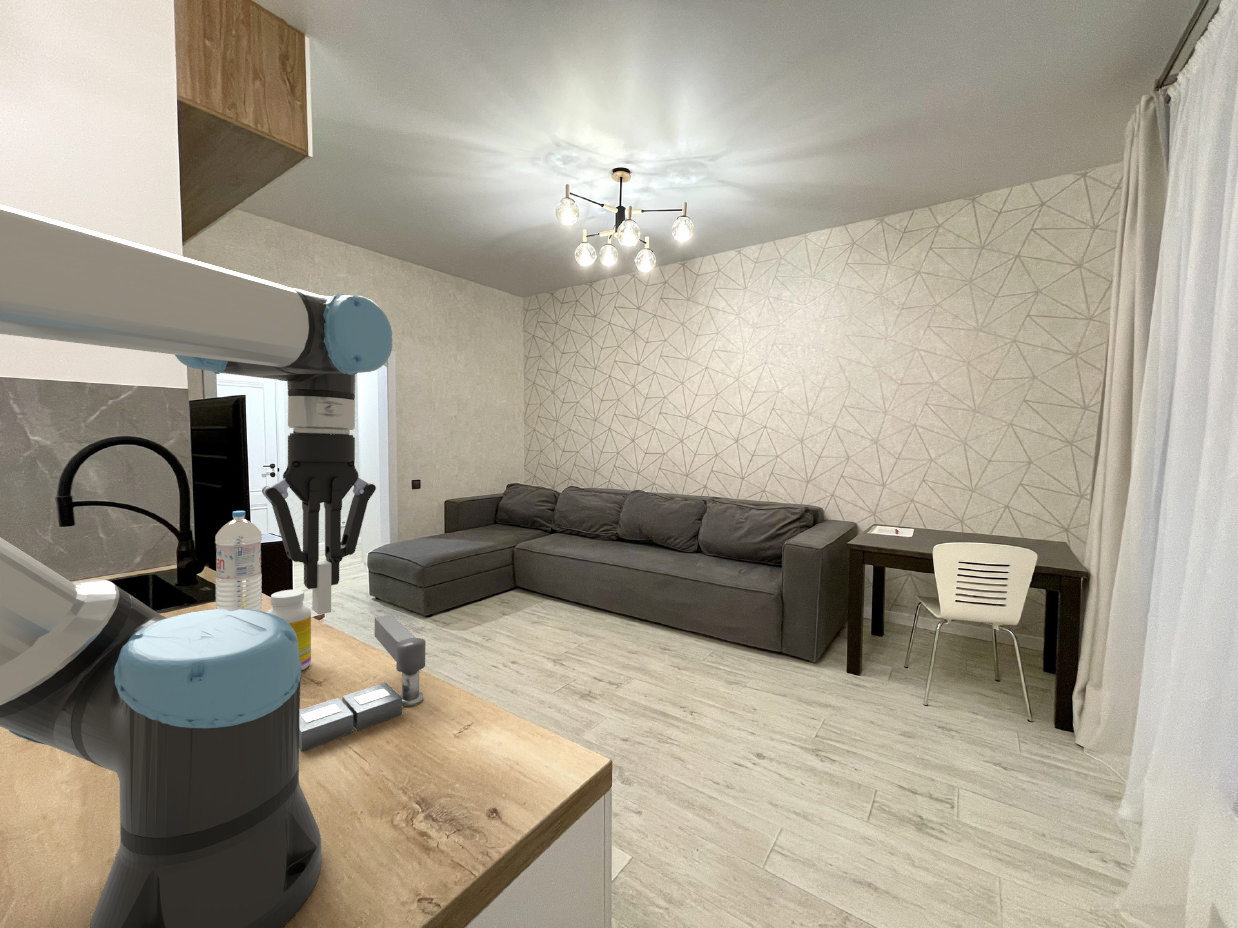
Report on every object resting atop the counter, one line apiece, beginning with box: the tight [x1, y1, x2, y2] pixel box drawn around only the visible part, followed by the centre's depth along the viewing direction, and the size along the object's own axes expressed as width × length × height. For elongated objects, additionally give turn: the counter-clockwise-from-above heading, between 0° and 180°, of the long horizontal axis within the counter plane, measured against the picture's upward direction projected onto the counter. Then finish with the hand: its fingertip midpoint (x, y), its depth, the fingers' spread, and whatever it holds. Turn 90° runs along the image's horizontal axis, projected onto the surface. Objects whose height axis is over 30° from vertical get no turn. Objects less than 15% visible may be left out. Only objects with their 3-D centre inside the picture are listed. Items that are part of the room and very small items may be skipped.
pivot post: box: [399, 670, 424, 708], centre depth 75 cm, size 4×4×5 cm
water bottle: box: [214, 510, 263, 612], centre depth 93 cm, size 7×7×25 cm
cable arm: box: [374, 614, 427, 673], centre depth 80 cm, size 17×4×4 cm, turn 40°
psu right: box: [341, 682, 403, 732], centre depth 72 cm, size 6×6×3 cm
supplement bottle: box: [266, 589, 312, 671], centre depth 84 cm, size 7×7×13 cm
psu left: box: [299, 696, 354, 752], centre depth 67 cm, size 6×6×3 cm
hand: (321, 610), depth 66 cm, fingers closed
